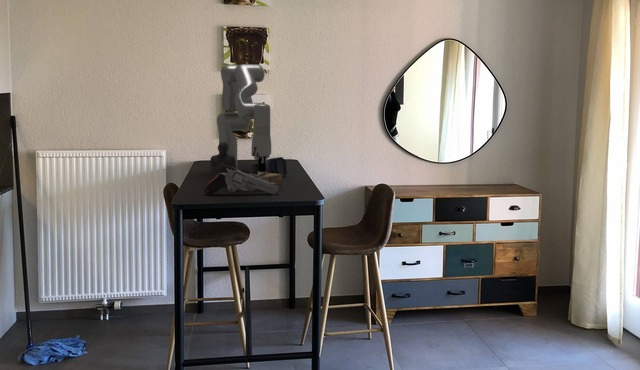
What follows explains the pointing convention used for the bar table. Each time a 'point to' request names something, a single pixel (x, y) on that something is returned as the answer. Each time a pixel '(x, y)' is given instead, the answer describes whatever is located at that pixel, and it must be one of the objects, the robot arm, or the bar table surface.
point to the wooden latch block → (266, 177)
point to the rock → (277, 166)
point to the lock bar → (256, 170)
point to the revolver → (239, 182)
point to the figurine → (222, 160)
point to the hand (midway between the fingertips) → (262, 171)
